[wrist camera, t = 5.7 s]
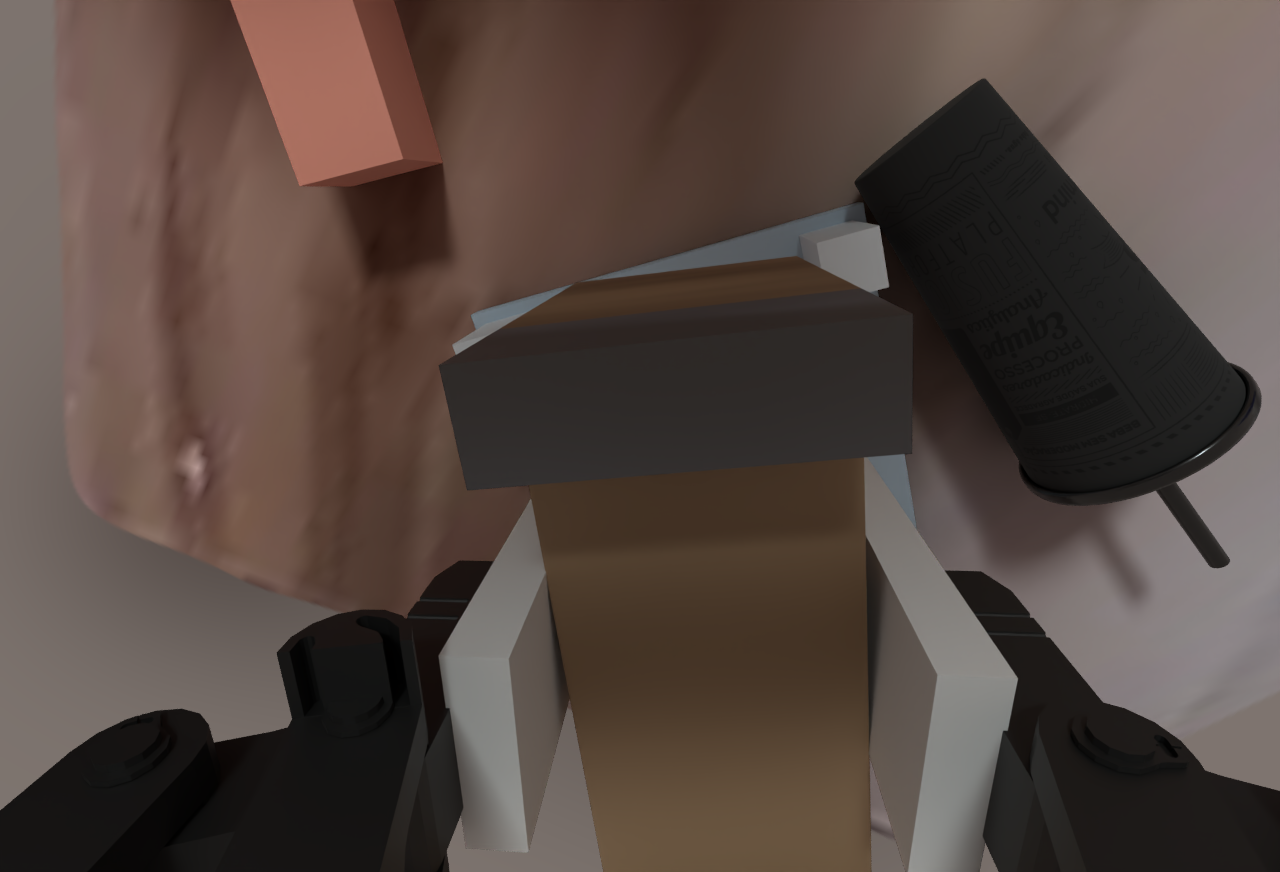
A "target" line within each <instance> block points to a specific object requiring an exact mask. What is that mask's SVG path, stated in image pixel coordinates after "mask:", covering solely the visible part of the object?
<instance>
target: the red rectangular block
mask: <svg viewBox="0 0 1280 872" xmlns="http://www.w3.org/2000/svg"><path fill="white" fill-rule="evenodd" d="M231 3H232V6H233V8H234V11H235V14H236V16H237V19H238V22H239V24H240V27H241V30H242V33H243V35H244V38H245V41H246V43H247V46H248V49H249V51H250V54H251V57H252V59H253V62H254V65H255V67H256V70H257V73H258V75H259V78H260V81H261V84H262V86H263V89H264V92H265V94H266V97H267V100H268V102H269V105H270V108H271V110H272V113H273V116H274V118H275V121H276V124H277V126H278V129H279V132H280V135H281V137H282V140H283V143H284V145H285V148H286V151H287V153H288V156H289V159H290V161H291V164H292V167H293V169H294V172H295V175H296V177H297V180H298V183H299V186H347V187H352V186H356V185H360V184H364V183H368V182H371V181H375V180H379V179H383V178H387V177H391V176H394V175H398V174H402V173H406V172H410V171H414V170H417V169H421V168H425V167H429V166H433V165H437V164H441V163H443V162H442V159H441V155H440V152H439V149H438V145H437V142H436V139H435V135H434V132H433V129H432V125H431V122H430V119H429V115H428V112H427V109H426V105H425V102H424V99H423V95H422V92H421V89H420V85H419V82H418V79H417V75H416V72H415V69H414V65H413V62H412V59H411V55H410V52H409V49H408V45H407V42H406V39H405V35H404V32H403V29H402V25H401V22H400V19H399V15H398V12H397V9H396V5H395V2H394V0H231Z"/></svg>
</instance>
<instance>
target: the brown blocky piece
mask: <svg viewBox="0 0 1280 872" xmlns="http://www.w3.org/2000/svg"><path fill="white" fill-rule="evenodd" d="M439 369H440V373H441V377H442V382H443V386H444V391H445V395H446V399H447V404H448V408H449V413H450V417H451V422H452V426H453V430H454V435H455V439H456V444H457V448H458V452H459V457H460V461H461V466H462V470H463V474H464V479H465V483H466V488H467V490H478V489H490V488H502V487H514V486H526V485H529V490H530V495H531V501H532V506H533V511H534V516H535V521H536V526H537V532H538V537H539V542H540V547H541V552H542V557H543V563H544V568H545V571H546V578H547V583H548V588H549V593H550V599H551V604H552V609H553V614H554V619H555V624H556V630H557V635H558V640H559V645H560V650H561V655H562V661H563V666H564V671H565V676H566V681H567V686H568V692H569V697H570V702H571V707H572V712H573V717H574V722H575V728H576V733H577V737H578V743H579V748H580V753H581V759H582V763H583V769H584V774H585V779H586V784H587V790H588V794H589V800H590V805H591V810H592V815H593V821H594V826H595V831H596V836H597V841H598V846H599V851H600V857H601V862H602V867H603V872H871V818H870V761H869V703H868V646H867V589H866V531H865V474H864V457H876V456H888V455H901V454H912V384H913V314H912V313H910V312H908V311H906V310H904V309H902V308H900V307H898V306H896V305H894V304H892V303H890V302H888V301H886V300H884V299H882V298H880V297H878V296H876V295H874V294H872V293H870V292H868V291H866V290H864V289H862V288H860V287H858V286H856V285H854V284H852V283H850V282H848V281H846V280H844V279H842V278H840V277H838V276H836V275H834V274H832V273H830V272H828V271H826V270H824V269H822V268H820V267H818V266H816V265H814V264H812V263H810V262H808V261H806V260H804V259H802V258H800V257H798V256H792V257H783V258H775V259H767V260H758V261H750V262H742V263H734V264H725V265H717V266H709V267H701V268H692V269H684V270H676V271H667V272H659V273H651V274H643V275H634V276H626V277H618V278H609V279H601V280H593V281H585V282H577V283H575V284H573V285H572V286H570V287H568V288H567V289H565V290H563V291H562V292H560V293H558V294H557V295H555V296H553V297H552V298H550V299H548V300H547V301H545V302H543V303H542V304H540V305H538V306H537V307H535V308H533V309H532V310H530V311H528V312H527V313H525V314H523V315H522V316H520V317H518V318H517V319H515V320H513V321H512V322H510V323H508V324H507V325H505V326H503V327H502V328H500V329H498V330H497V331H495V332H493V333H492V334H490V335H488V336H487V337H485V338H483V339H482V340H480V341H478V342H477V343H475V344H473V345H472V346H470V347H468V348H467V349H465V350H463V351H462V352H460V353H458V354H457V355H455V356H453V357H452V358H450V359H448V360H447V361H445V362H443V363H442V364H440V365H439Z"/></svg>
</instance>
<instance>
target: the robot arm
mask: <svg viewBox="0 0 1280 872" xmlns="http://www.w3.org/2000/svg"><path fill="white" fill-rule="evenodd" d="M864 474H865V531H866V589H867V646H868V703H869V756H870V760H871V763H872V766H873V769H874V772H875V776H876V779H877V782H878V785H879V788H880V792H881V795H882V798H883V801H884V805H885V808H886V811H887V814H888V817H889V821H890V824H891V827H892V830H893V833H894V837H895V840H896V843H897V846H898V849H899V853H900V856H901V859H902V862H903V866H904V869H905V872H980V867H981V861H982V857H983V851H984V846H985V843H986V845H987V847H988V849H989V851H990V854H991V856H992V858H993V860H994V863H995V864H996V867H997V869H998V871H999V872H1280V791H1278V790H1274V789H1270V788H1266V787H1262V786H1258V785H1254V784H1251V783H1247V782H1243V781H1239V780H1235V779H1231V778H1227V777H1224V776H1220V775H1217V774H1214V773H1211V772H1208V771H1205V770H1204V768H1203V767H1202V765H1201V764H1200V762H1199V761H1198V760H1197V759H1196V758H1195V756H1194V755H1193V754H1192V753H1191V752H1190V751H1189V749H1187V747H1186V746H1185V745H1184V744H1183V743H1182V741H1180V740H1179V739H1177V738H1176V737H1175V736H1173V735H1172V734H1170V733H1169V732H1168V731H1166V730H1165V729H1163V728H1162V727H1160V726H1159V725H1158V724H1156V723H1155V722H1153V721H1151V720H1148V719H1146V718H1144V717H1142V716H1140V715H1138V714H1135V713H1133V712H1131V711H1129V710H1127V709H1125V708H1121V707H1118V706H1114V705H1110V704H1106V703H1103V702H1102V701H1101V700H1100V698H1099V697H1098V696H1097V695H1096V694H1095V692H1094V691H1093V690H1092V689H1091V687H1090V686H1089V685H1088V684H1087V683H1086V681H1085V680H1084V679H1083V678H1082V676H1081V675H1080V674H1079V673H1078V672H1077V670H1076V669H1075V668H1074V667H1073V666H1072V664H1071V663H1070V662H1069V661H1068V659H1067V658H1066V657H1065V656H1064V655H1063V653H1062V652H1061V651H1060V650H1059V648H1058V647H1057V646H1056V645H1055V644H1054V642H1053V641H1052V640H1051V639H1050V638H1047V637H1046V635H1045V631H1044V630H1043V629H1042V628H1041V627H1040V625H1039V624H1038V623H1037V622H1036V620H1035V619H1034V618H1030V613H1029V612H1028V611H1027V609H1026V608H1025V607H1024V606H1023V605H1022V603H1021V602H1020V601H1019V600H1018V599H1017V597H1016V596H1015V595H1014V594H1013V592H1012V591H1011V590H1009V589H1008V588H1006V587H1004V586H1003V585H1001V584H1000V583H998V582H997V581H995V580H993V579H992V578H990V577H989V576H987V575H986V574H984V573H983V572H981V571H944V569H943V568H942V566H941V565H940V563H939V562H938V560H937V559H936V557H935V556H934V554H933V553H932V552H931V550H930V549H929V547H928V546H927V544H926V543H925V541H924V540H923V538H922V537H921V535H920V534H919V532H918V531H917V530H916V528H915V527H914V525H913V524H912V522H911V521H910V519H909V518H908V516H907V515H906V513H905V512H904V510H903V509H902V508H901V506H900V505H899V503H898V502H897V500H896V499H895V497H894V496H893V494H892V493H891V491H890V490H889V488H888V487H887V486H886V484H885V483H884V481H883V480H882V478H881V477H880V475H879V474H878V472H877V471H876V469H875V468H874V466H873V465H872V463H871V462H870V461H869V459H868V458H867V457H864ZM277 657H278V661H279V665H280V669H281V673H282V678H283V682H284V686H285V690H286V694H287V699H288V703H289V707H290V712H291V716H292V721H291V722H290V724H289V726H288V728H284V729H280V730H276V731H273V732H268V733H262V734H257V735H252V736H247V737H241V738H236V739H231V740H226V741H221V742H215V743H214V742H213V738H212V735H211V731H210V728H209V725H208V723H207V722H206V721H205V719H204V718H203V717H202V716H201V714H199V713H196V712H192V711H188V710H184V709H173V710H160V711H154V712H150V713H147V714H142V715H140V716H135V717H132V718H130V719H126V720H124V721H122V722H120V723H118V724H116V725H114V726H112V727H110V728H107V729H105V730H104V731H101V732H99V733H97V734H96V735H94V736H93V737H91V738H90V739H88V740H87V741H85V742H84V743H83V744H81V745H80V746H78V747H77V748H75V749H74V750H72V751H71V752H69V753H68V754H67V755H66V756H65V757H64V758H62V759H61V760H60V761H59V762H58V763H56V764H55V765H54V766H53V767H52V768H50V769H49V770H48V771H47V772H46V773H44V774H43V775H42V776H41V777H40V778H39V779H37V780H36V781H35V782H34V783H32V784H31V785H30V786H29V787H28V788H27V789H25V790H24V791H23V792H22V793H21V794H19V795H18V796H17V797H16V798H15V799H13V800H12V801H11V802H10V803H9V804H7V805H6V806H5V807H4V808H3V809H1V810H0V872H449V863H448V857H447V848H448V846H449V843H450V841H451V838H452V836H453V833H454V831H455V828H456V825H457V823H458V821H459V818H460V816H461V818H462V825H463V832H464V840H465V847H466V849H482V850H497V851H512V852H527V853H528V852H529V848H530V844H531V840H532V837H533V833H534V829H535V825H536V822H537V818H538V814H539V810H540V807H541V803H542V799H543V796H544V792H545V788H546V785H547V781H548V777H549V773H550V770H551V766H552V762H553V758H554V755H555V751H556V747H557V743H558V739H559V736H560V732H561V728H562V725H563V721H564V717H565V713H566V710H567V706H568V702H569V698H570V697H569V692H568V686H567V681H566V676H565V671H564V666H563V661H562V655H561V650H560V645H559V640H558V635H557V630H556V624H555V619H554V614H553V609H552V604H551V599H550V593H549V588H548V583H547V578H546V571H545V568H544V563H543V557H542V552H541V547H540V542H539V537H538V532H537V526H536V521H535V516H534V511H533V506H532V501H531V499H530V501H529V503H528V504H527V506H526V508H525V510H524V511H523V513H522V515H521V516H520V518H519V520H518V522H517V523H516V525H515V527H514V528H513V530H512V532H511V533H510V535H509V537H508V539H507V540H506V542H505V544H504V545H503V547H502V549H501V550H500V552H499V554H498V556H497V557H496V559H495V561H458V562H457V563H455V564H454V565H452V566H451V567H449V568H448V569H446V570H445V571H443V572H442V573H440V574H439V575H437V576H436V577H434V579H433V580H432V582H431V583H430V584H429V586H428V587H427V588H426V590H425V591H424V593H423V594H422V595H421V597H420V601H417V602H416V604H415V605H414V606H413V608H412V609H411V610H410V612H409V613H408V618H407V619H405V618H404V617H403V616H402V615H399V614H396V613H392V612H389V611H386V610H358V611H352V612H347V613H342V614H337V615H334V616H332V617H329V618H326V619H324V620H321V621H319V622H316V623H313V624H312V625H310V626H308V627H307V628H305V629H303V630H302V631H300V632H299V633H297V634H295V635H294V636H292V637H291V638H290V639H289V640H288V641H287V642H286V643H285V644H284V645H283V647H282V648H281V649H280V650H279V651H278V652H277Z"/></svg>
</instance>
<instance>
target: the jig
mask: <svg viewBox="0 0 1280 872" xmlns="http://www.w3.org/2000/svg"><path fill="white" fill-rule="evenodd" d="M792 256H798V257H800V258H802V259H804V260H806V261H808V262H810V263H812V264H814V265H816V266H818V267H820V268H822V269H824V270H826V271H828V272H830V273H832V274H834V275H836V276H838V277H840V278H842V279H844V280H846V281H848V282H850V283H852V284H854V285H856V286H858V287H860V288H862V289H864V290H866V291H868V292H870V293H872V294H874V295H876V296H878V297H879V295H878V290H880V289H884V288H888V287H889V283H888V277H887V270H886V264H885V258H884V251H883V245H882V239H881V232H880V226H879V225H874V224H869V223H867V221H866V215H865V209H864V203H860V202H857V203H853V204H850V205H846V206H843V207H839V208H836V209H832V210H829V211H825V212H822V213H818V214H815V215H811V216H808V217H804V218H801V219H797V220H794V221H790V222H787V223H783V224H780V225H776V226H773V227H770V228H766V229H763V230H759V231H756V232H752V233H749V234H745V235H742V236H738V237H735V238H731V239H728V240H724V241H721V242H717V243H714V244H710V245H707V246H703V247H700V248H696V249H693V250H689V251H686V252H682V253H679V254H675V255H672V256H668V257H665V258H661V259H658V260H654V261H651V262H647V263H644V264H640V265H637V266H633V267H630V268H626V269H623V270H620V271H616V272H613V273H609V274H606V275H602V276H599V277H595V278H592V279H588V280H585V281H593V280H601V279H609V278H618V277H626V276H634V275H643V274H651V273H659V272H667V271H676V270H684V269H692V268H701V267H709V266H717V265H725V264H734V263H742V262H750V261H758V260H767V259H775V258H783V257H792ZM585 281H581V282H585ZM574 284H575V283H574ZM572 285H573V284H571V285H567V286H564V287H560V288H557V289H553V290H550V291H546V292H543V293H539V294H536V295H532V296H529V297H525V298H522V299H518V300H515V301H511V302H508V303H504V304H501V305H497V306H494V307H490V308H487V309H483V310H480V311H477V312H476V313H474V314H472V315H471V317H472V320H473V323H474V325H475V328H476V330H475V331H473V332H472V333H470V334H469V335H467V336H466V337H464V338H462V339H461V340H459V341H458V342H456V343H454V344H453V345H452V346H453V348H454V351H455V354H456V355H457V354H458V353H460V352H462V351H463V350H465V349H467V348H468V347H470V346H472V345H473V344H475V343H477V342H478V341H480V340H482V339H483V338H485V337H487V336H488V335H490V334H492V333H493V332H495V331H497V330H498V329H500V328H502V327H503V326H505V325H507V324H508V323H510V322H512V321H513V320H515V319H517V318H518V317H520V316H522V315H523V314H525V313H527V312H528V311H530V310H532V309H533V308H535V307H537V306H538V305H540V304H542V303H543V302H545V301H547V300H548V299H550V298H552V297H553V296H555V295H557V294H558V293H560V292H562V291H563V290H565V289H567V288H568V287H570V286H572ZM867 458H868V459H869V461H870V462H871V463H872V465H873V466H874V468H875V469H876V471H877V472H878V474H879V475H880V477H881V478H882V480H883V481H884V483H885V484H886V486H887V487H888V488H889V490H890V491H891V493H892V494H893V496H894V497H895V499H896V500H897V502H898V503H899V505H900V506H901V508H902V509H903V510H904V512H905V513H906V515H907V516H908V518H909V519H910V521H911V522H912V524H913V525H914V527H915V528H916V530H917V527H916V521H915V515H914V509H913V503H912V497H911V491H910V485H909V478H908V472H907V466H906V460H905V454H901V455H888V456H876V457H867Z"/></svg>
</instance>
